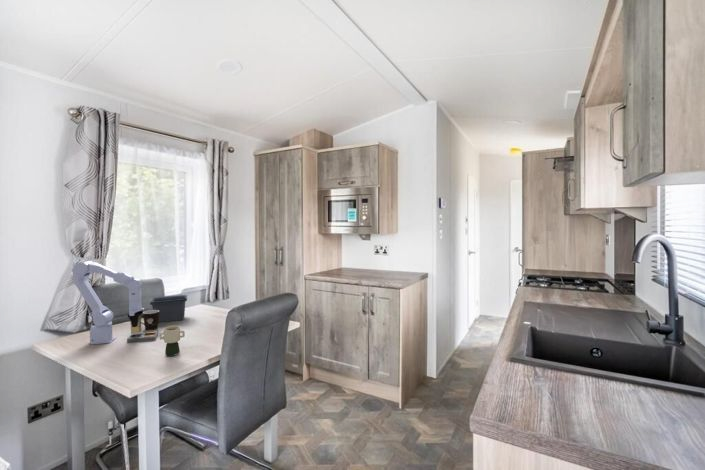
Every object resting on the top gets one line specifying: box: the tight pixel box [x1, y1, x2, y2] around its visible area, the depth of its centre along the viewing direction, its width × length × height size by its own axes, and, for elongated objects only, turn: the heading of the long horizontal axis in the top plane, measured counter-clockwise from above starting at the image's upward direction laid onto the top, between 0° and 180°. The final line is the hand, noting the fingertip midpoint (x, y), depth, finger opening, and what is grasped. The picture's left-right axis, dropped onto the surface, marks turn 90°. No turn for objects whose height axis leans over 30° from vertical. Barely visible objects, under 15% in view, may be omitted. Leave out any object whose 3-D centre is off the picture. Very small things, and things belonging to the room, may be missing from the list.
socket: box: [126, 331, 159, 343], centre depth 192 cm, size 13×9×2 cm
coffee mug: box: [141, 309, 159, 331], centre depth 210 cm, size 12×9×10 cm
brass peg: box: [130, 315, 142, 335], centre depth 191 cm, size 4×4×9 cm
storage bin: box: [149, 294, 188, 323], centre depth 228 cm, size 21×16×14 cm
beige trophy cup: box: [158, 325, 186, 357], centre depth 170 cm, size 11×7×13 cm, turn 110°
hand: (136, 325), depth 191 cm, fingers closed on brass peg, 4 cm apart
